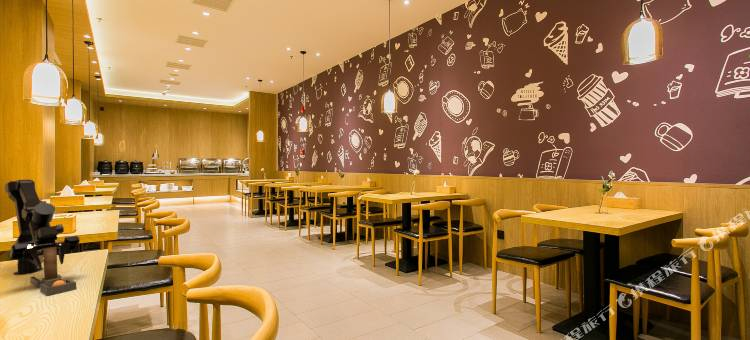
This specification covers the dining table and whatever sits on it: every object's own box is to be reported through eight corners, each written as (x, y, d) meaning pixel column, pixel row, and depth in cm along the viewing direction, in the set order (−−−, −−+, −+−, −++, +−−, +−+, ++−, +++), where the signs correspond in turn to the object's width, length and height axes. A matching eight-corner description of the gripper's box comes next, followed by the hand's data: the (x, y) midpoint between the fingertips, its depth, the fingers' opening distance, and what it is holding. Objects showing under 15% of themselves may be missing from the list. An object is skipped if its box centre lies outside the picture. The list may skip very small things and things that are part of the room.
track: (30, 283, 137) (30, 277, 136) (54, 278, 142) (54, 272, 142) (36, 287, 132) (36, 281, 132) (61, 282, 137) (61, 276, 137)
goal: (40, 291, 127) (40, 284, 127) (69, 285, 134) (69, 278, 134) (46, 296, 123) (46, 288, 123) (76, 289, 130) (76, 282, 130)
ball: (60, 294, 127) (57, 291, 129) (69, 284, 129) (66, 282, 131) (51, 289, 125) (47, 286, 127) (60, 279, 127) (57, 277, 129)
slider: (41, 284, 133) (40, 248, 133) (56, 281, 136) (55, 246, 136) (46, 288, 130) (44, 250, 129) (61, 284, 133) (60, 248, 133)
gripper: (10, 221, 127) (19, 257, 121) (77, 214, 143) (88, 246, 136) (6, 241, 132) (14, 277, 126) (71, 233, 147) (81, 264, 141)
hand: (51, 265), depth 132 cm, fingers open, 6 cm apart
